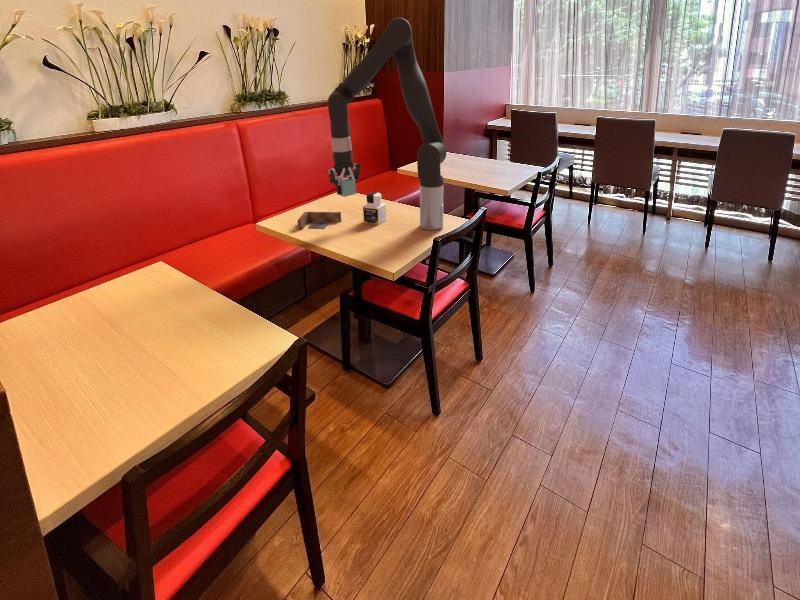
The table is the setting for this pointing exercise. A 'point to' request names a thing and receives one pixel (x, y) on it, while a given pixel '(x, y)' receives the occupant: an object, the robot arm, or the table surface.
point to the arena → (318, 219)
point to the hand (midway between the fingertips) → (346, 192)
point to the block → (347, 187)
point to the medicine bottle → (374, 209)
